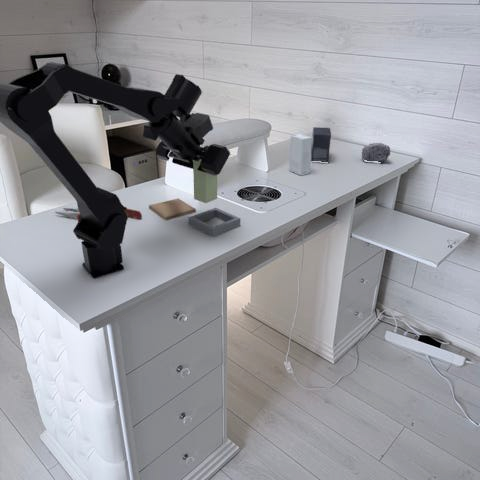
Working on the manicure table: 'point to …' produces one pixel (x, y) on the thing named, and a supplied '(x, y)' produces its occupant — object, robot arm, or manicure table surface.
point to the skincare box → (300, 154)
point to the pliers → (76, 215)
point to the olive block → (204, 185)
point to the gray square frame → (230, 224)
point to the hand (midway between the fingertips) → (209, 171)
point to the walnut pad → (172, 208)
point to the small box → (320, 144)
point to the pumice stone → (376, 152)
